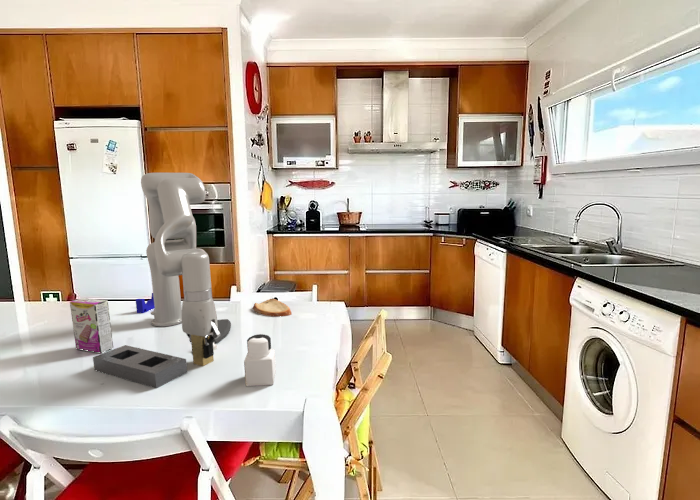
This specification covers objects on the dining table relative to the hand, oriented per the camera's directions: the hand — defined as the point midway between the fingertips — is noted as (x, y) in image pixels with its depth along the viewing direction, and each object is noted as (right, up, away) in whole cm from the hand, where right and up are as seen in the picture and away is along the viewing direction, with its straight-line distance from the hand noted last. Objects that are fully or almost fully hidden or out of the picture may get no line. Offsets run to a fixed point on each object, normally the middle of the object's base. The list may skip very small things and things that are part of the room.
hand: (203, 354), depth 122 cm
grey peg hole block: (-16, -4, -5) cm, 17 cm away
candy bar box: (-40, -2, +13) cm, 42 cm away
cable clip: (-44, +5, +58) cm, 73 cm away
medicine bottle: (+20, -4, -12) cm, 23 cm away
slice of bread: (+11, +5, +52) cm, 53 cm away
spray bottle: (-4, 0, +21) cm, 21 cm away
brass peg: (0, -2, 0) cm, 2 cm away
